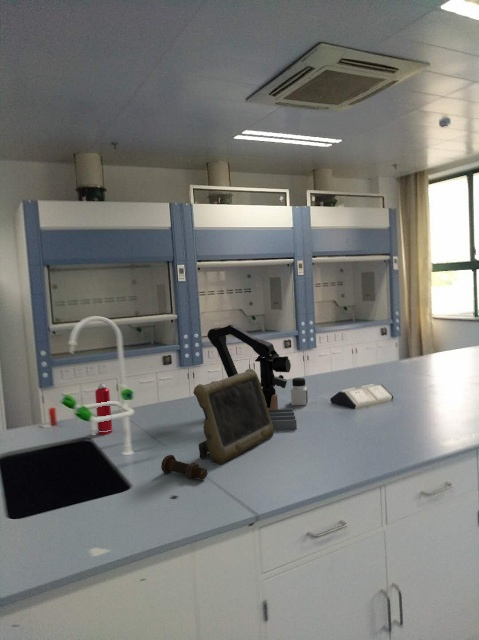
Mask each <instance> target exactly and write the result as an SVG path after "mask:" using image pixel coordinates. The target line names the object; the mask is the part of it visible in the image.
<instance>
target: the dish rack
mask: <svg viewBox="0 0 479 640" xmlns="http://www.w3.org/2000/svg"><path fill="white" fill-rule="evenodd" d="M268 411H269V415H270V418H271V421H272V425H273V429H274V431H290V430H298V429H297V428H298V427H297V425H298V423H297V419H296V416H295V412H294V408H278V409H268Z"/></svg>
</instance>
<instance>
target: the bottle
mask: <svg viewBox="0 0 479 640" xmlns="http://www.w3.org/2000/svg"><path fill="white" fill-rule="evenodd" d="M94 397H95V404H96V403H101V402H107V401H110V402H111V397H110V389H109V388H107V387H106V385H105V384H104V383H100V384H98V386H97V389H95V392H94ZM95 408H96V407H95ZM111 412H112V411H111V405H110V406H102V407H98V408H96V417H97V416H106V415H111V416H112V413H111ZM111 429H112V430H111ZM98 430H99V431H107V430H111V431H108V432H99V431H98ZM97 433H98V435H102V436H103V435H104V436H105V435H109V434H112V433H113V424H112V419H111V420H109V421H104V422H99V423H98V422H97Z"/></svg>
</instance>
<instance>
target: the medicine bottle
mask: <svg viewBox="0 0 479 640" xmlns="http://www.w3.org/2000/svg"><path fill="white" fill-rule="evenodd" d="M291 383H292V385H291V386H292V387H291V390H290V397H291V398H290V399H291V405H292V406H308V397H309V396H308V387H307V386H306V378H303V377H294V378H293V379H292V381H291Z"/></svg>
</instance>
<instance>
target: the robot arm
mask: <svg viewBox="0 0 479 640" xmlns="http://www.w3.org/2000/svg"><path fill="white" fill-rule="evenodd" d="M228 335H231V336H233V337H235V338H236V339H238V340H239V341H241V342H243V343H244V344H246V345H247V346H249V347H250V348H251V349H252V350H253V352H255V354H256V355H258V356H257V358H256V359H255V360H254V362H257V363H258V362H259V373H260V384H261V389H262V392H263V394H264V396H265V401H266V403H267V408H270V404H271V398H272V396H273V395H276V394H277V393H276V391H277V390H276V388H275V387H276V386H277V387H280V388H282V389H285V388H286V387H287V382H288V380H287V379H286V378H284V375H282V374H280V375H278V376H275V373H274V372H276V373H290V372H291V366H292V364H291V360H290V359H289V356H287V355H284V356H280V355H279V354H278V353H277V351H276V350H275V347H274V344H273V343H272V342H270V341H267V340H263V339H259V338H257V337H255V336H254V335H252V334H250V333H249V332H247V331H245V330H244V329H242V328H240V327H239V326H238V325H236V324H233V323H232V324H228V325H226V326H223V327H214V328H210V329H209V330H208V332H207V338H208V340H209V342H210V343H211V345H212V346H213V347H214V348H216V351H217V353H218V356H219V359H220V360H221V363H222V365H223V368H224V371H225V373H226V375H227V378H229V377H232V376H234V375H236V374H239V373H238V370H237V369H236V365H235V363H234V360H233V357H232V355H231V354H230V350H229V349H228V346H227V336H228Z"/></svg>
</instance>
